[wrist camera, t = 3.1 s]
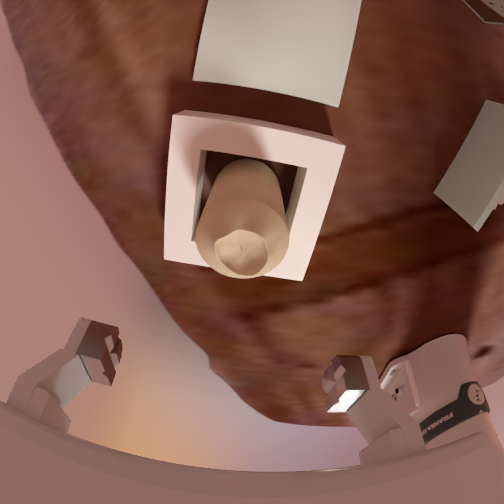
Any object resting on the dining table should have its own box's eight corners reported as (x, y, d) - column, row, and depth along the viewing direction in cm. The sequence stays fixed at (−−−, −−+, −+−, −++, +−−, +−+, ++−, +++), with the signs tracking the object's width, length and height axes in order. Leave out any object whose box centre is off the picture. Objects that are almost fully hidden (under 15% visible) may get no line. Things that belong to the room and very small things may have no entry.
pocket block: (297, 258, 28) (302, 281, 25) (173, 238, 27) (164, 259, 24) (333, 136, 21) (345, 146, 18) (184, 109, 20) (172, 114, 17)
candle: (201, 192, 24) (172, 259, 16) (242, 144, 22) (232, 187, 14) (250, 229, 26) (247, 307, 18) (293, 186, 24) (312, 251, 15)
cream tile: (335, 106, 20) (338, 107, 19) (195, 80, 19) (192, 80, 18) (359, -9, 14) (363, -12, 13) (220, -37, 13) (219, -42, 12)
